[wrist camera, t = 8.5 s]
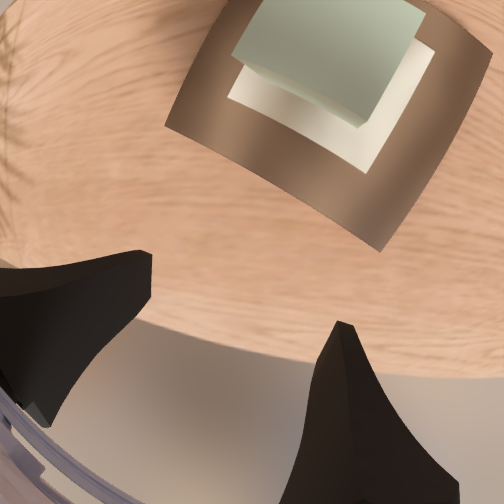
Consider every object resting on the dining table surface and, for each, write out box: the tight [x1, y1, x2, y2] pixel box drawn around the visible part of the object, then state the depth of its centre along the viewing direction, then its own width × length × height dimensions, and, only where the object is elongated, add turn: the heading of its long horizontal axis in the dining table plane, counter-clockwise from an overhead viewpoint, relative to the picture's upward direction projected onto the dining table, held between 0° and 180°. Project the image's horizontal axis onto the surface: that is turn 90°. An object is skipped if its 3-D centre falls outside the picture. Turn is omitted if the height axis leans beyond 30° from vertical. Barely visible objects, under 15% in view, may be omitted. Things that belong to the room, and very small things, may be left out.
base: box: [164, 0, 493, 252], centre depth 12 cm, size 14×14×3 cm
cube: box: [231, 0, 426, 129], centre depth 9 cm, size 5×5×5 cm
